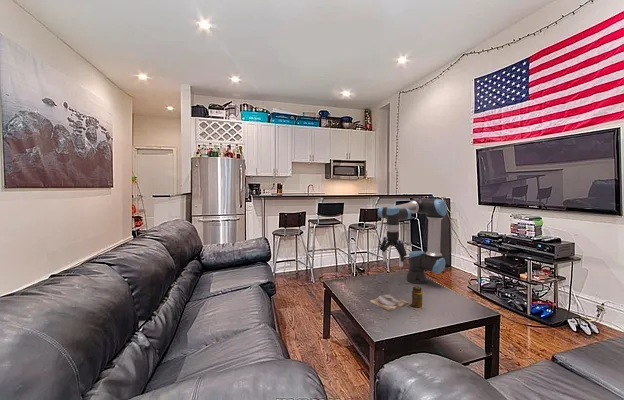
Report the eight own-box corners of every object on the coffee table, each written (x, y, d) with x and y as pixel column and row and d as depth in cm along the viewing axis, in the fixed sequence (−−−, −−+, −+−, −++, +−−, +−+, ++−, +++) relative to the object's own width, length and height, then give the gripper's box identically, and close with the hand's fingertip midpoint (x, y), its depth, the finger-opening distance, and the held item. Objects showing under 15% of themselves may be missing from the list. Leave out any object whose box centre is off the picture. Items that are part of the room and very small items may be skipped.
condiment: (425, 306, 177) (425, 288, 176) (416, 310, 172) (416, 291, 171) (415, 302, 183) (415, 284, 182) (406, 306, 178) (406, 287, 177)
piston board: (389, 295, 194) (389, 291, 194) (408, 303, 181) (408, 299, 181) (370, 302, 185) (370, 298, 184) (388, 311, 171) (388, 307, 171)
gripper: (374, 228, 187) (374, 260, 189) (404, 234, 166) (404, 270, 168) (382, 227, 191) (382, 258, 193) (412, 233, 170) (412, 267, 171)
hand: (392, 263), depth 180 cm, fingers open, 13 cm apart
